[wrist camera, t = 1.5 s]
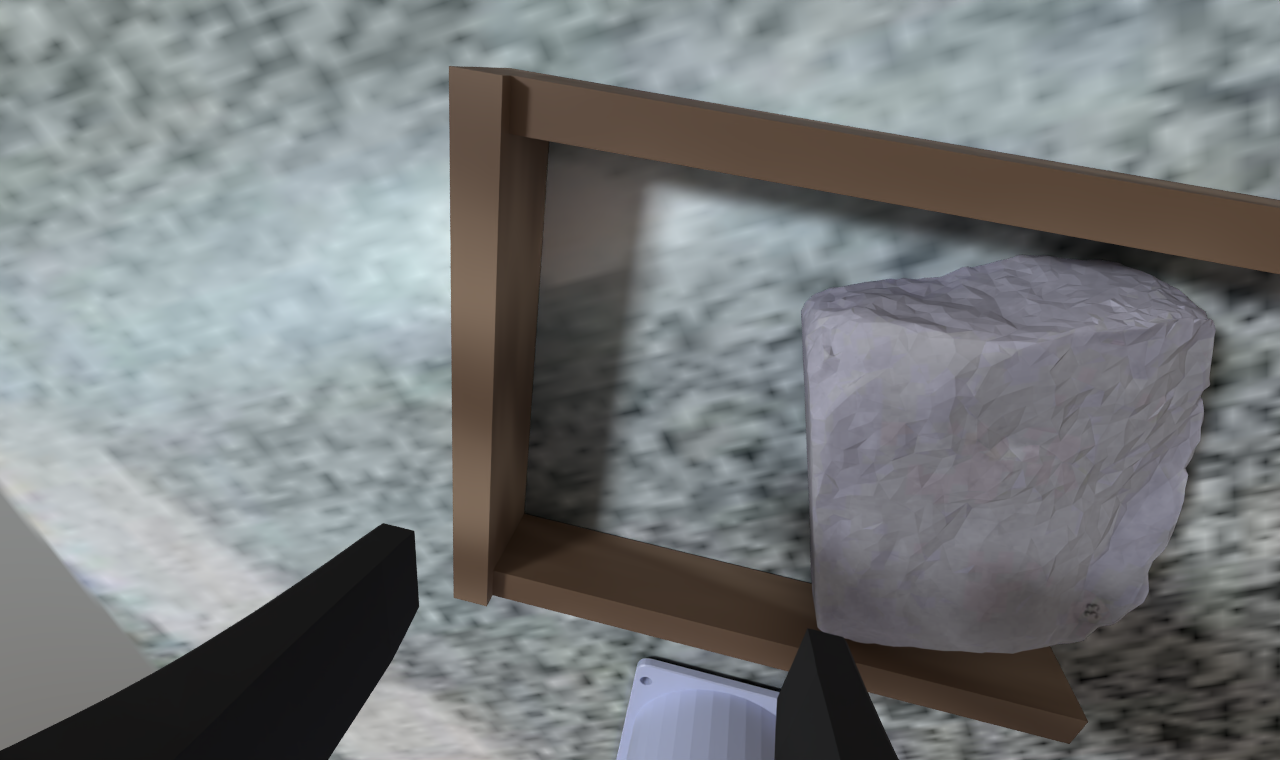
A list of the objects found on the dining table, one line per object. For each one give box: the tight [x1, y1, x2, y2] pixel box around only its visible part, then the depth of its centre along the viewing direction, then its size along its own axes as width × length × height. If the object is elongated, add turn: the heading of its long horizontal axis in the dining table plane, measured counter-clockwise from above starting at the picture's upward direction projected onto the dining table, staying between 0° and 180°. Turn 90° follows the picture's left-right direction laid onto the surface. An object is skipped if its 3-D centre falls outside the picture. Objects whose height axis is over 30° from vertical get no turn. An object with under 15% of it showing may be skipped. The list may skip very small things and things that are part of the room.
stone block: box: [801, 255, 1215, 654], centre depth 17 cm, size 12×5×10 cm
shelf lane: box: [449, 66, 1280, 744], centre depth 17 cm, size 16×21×4 cm
